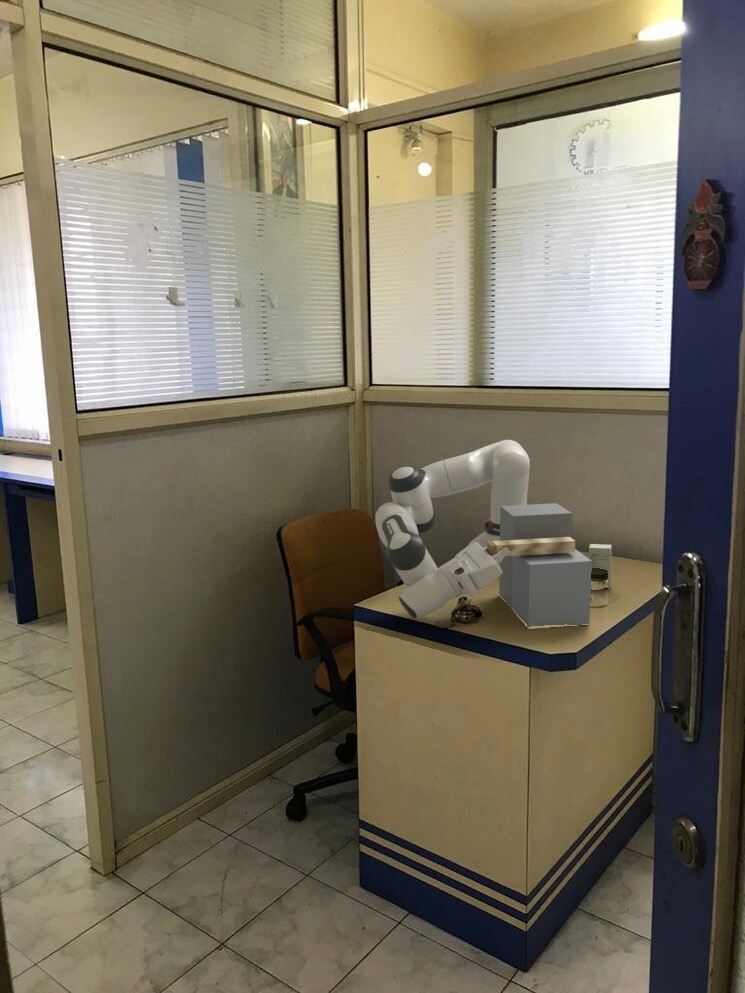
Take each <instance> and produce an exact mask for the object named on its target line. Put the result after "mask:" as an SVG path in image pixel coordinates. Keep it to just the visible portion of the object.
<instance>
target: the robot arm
mask: <svg viewBox="0 0 745 993" xmlns="http://www.w3.org/2000/svg"><path fill="white" fill-rule="evenodd" d="M530 464H531V460H530V457H529V455H528V453H527V451H526V450H525V449H524V448H523V447H522V445H521V444H520V443H519V442H517V441H515V440H511V439H503V440H501V441H497V442H495V443H492V444H489V445H486V446H483V447H480V448H478V449H475V450H473V451H471V452H467V453H464V454H460V455H457V456H454V457H453V456H452V457H449V458H447V459H442V460H439V461H436V462H433V463H431V464H428V465H426V466H423V467H422V468H419V467H416V466H413V465H412V466H411V465H405V466H400V467H397V468H396V469H395V470H393V471H391V474H390V475H389V476H388V488H389V490H390V494H391V498H392V502H391V501H389V502H386V503H385V502H384V503H383V504H382V505H380V507H378V509H377V510H376V513H375V518H374V519H375V526H376V530H377V534H378V536H379V539H380V540H381V542H382V543H383V545H384V546H385V548H386V551H385V556H386V558H387V560H388V562H389V563H390V564H391V565H392V567H393V568H394V569H395V571H396V573H397V574H398V576H399V577H400V579H401V580H402V582H403V591H402V592H401V593H400V594H399V596H398V601H399V602H400V605H401V606H402V607H403V609H404V610H405V611H406V613H407V614H408V615H409V616H410V617H412V618H413V619H416V620H417V619H422V618H423V617H426V616H428V615H430V614H432V613H434V612H436V611H437V610H439V609H441V608H442V607H444V606H445V605H446V604H447V603H449V601H450V600H453V599H456V598H458V597H460V596H462V595H463V596H464V595H466V596H470V597H474V596H475V595H477V594H478V593H479V590H481V589H484V588H485V587H488V586H489V585H490V584H492V583H493V582H495V581H496V580H498V579H499V577H500V576H501V574H502V573H503V571H502V570H501V568H500V562H501V561H502V560H503V559H504V557H505V556H507V555H509V554H510V551H509V549H508V548H507V547H503V548H502V549H500V551H499V552H498V553H497V554H496V555H495V554H494V555H493V556H490V555H489V554H488V553H487V551H486V547H487V541H500V506H512V505H528V490H529V480H530ZM489 482H491V493H490V517H488V519H486V520H485V522H484V524H483V529H484V531H483V532H482V533H480V534H479V535H478V536H476V537H475V538H474V539H472V540H471V541H469V544H468V545H467V546H466V547H464V548H463V549H462V550H460V551H459V552H458V553H457V554H456V555H455V556H454V558H452V559H450V560H449V561H447V562H446V563H444V564H442V565H441V566H440V567H438V566H437V564H436V563H435V561H434V559H433V557H432V556H431V554H430V553H429V551H428V549H427V548H426V545H425V543H424V542H423V539H422V537H421V536H420V535H423V534H426V533H428V531H430V530H431V529H432V528H433V527H434V525H435V524H436V515H435V514H436V513H435V511H434V506H433V502H432V499H434V498H440V497H446V496H450V495H453V494H455V495H456V494H457V493H462V492H466V491H469V490H473V489H477V488H479V487H481V486H483V485H485V484H487V483H489Z"/></svg>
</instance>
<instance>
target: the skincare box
mask: <svg viewBox="0 0 745 993" xmlns="http://www.w3.org/2000/svg"><path fill="white" fill-rule="evenodd" d="M588 546H589V547H588V559H590V560H591V561H592V568H600V569H605V570H607V571H608V583H607V585H608V589H609V590H610V589H611V587H612V565H613V564H612V559H613V558H612V557H613V556H612V555H613V554H612V553H613V552H612V550H613V549H612V548H613V547H612V544H605V543H604V544H603V543H602V544H598V543H590V544H589V545H588ZM608 589H607V590H608Z"/></svg>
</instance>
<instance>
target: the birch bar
mask: <svg viewBox="0 0 745 993" xmlns="http://www.w3.org/2000/svg"><path fill="white" fill-rule="evenodd" d="M503 547H507V548H508V549H509V551H510V554H509V555H507V556H521V555H538V554H555V553H572V552H575V549H576V540H575V539H573V537H571V538H570V537H558V538H541V539H523V540H505V541H487V547H486V551H487V553H488V554H489V555H490V556H493V555H494V554H495V555H496V554H497V553H498V552H499V551H500V549H502V548H503Z"/></svg>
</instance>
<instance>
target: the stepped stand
mask: <svg viewBox="0 0 745 993" xmlns="http://www.w3.org/2000/svg"><path fill="white" fill-rule="evenodd" d="M572 527H573V513H572V512H571V511H570V510H569V509H567V508H565V507H563V506H561V505H560V504H558V503H557V502H555V503H536V504H535V503H534V504H533V503H532V504H527V505H512V506H500V541H505V540H523V539H541V538H558V537H570V538H573V537H572V536H573V535H572V534H573V531H572V530H573V528H572ZM500 568H501V570H502V571H503V573H502V574H501V576H500V577H499V578H498V579H499V582H498V583H499V584H498V587H499V588H498V592H499V593H498V596H499V595H500V596H501V597H502V598H503V599H504V600H505V601H506V603H507V604H508V605H509V606H510V607H511V608H512V609H513V610H514V611H515V612H516V614H518V616H519V617H520V618H521V619H522V620H523V621H524V622H525V623H526V624H527V626H528V627H531V626H544V625H565V624H567V625H582V624H590V620H591V619H590V618H591V598H592V595H591V592H592V588H591V572H592V561H591V560H590V559H589V557H587V556H586V555H584V554H583V553H582V552H580V551H579V550H577V549H576V548H575V552H572V553H555V554H538V555H521V556H505V557H504V559H503V560H502V561H501V562H500ZM500 596H499V597H500ZM506 603H505V604H506ZM507 604H506V605H507ZM590 625H591V624H590Z"/></svg>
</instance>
